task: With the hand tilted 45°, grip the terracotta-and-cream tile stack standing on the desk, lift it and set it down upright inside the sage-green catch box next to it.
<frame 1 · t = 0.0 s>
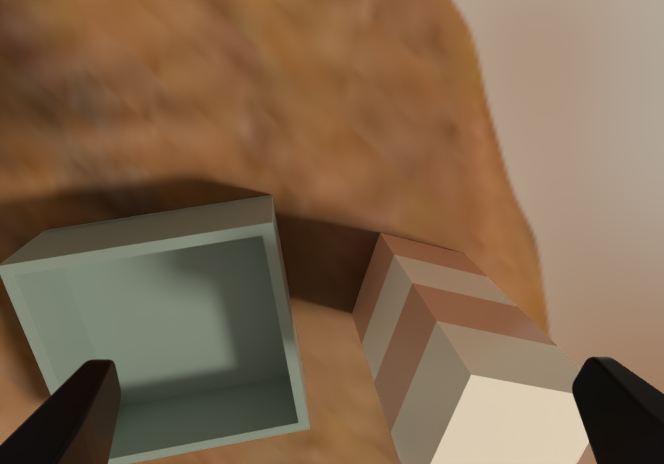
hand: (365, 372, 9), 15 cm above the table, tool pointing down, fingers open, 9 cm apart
catch box: (186, 309, 25), on the table
tile stack: (407, 283, 26), on the table
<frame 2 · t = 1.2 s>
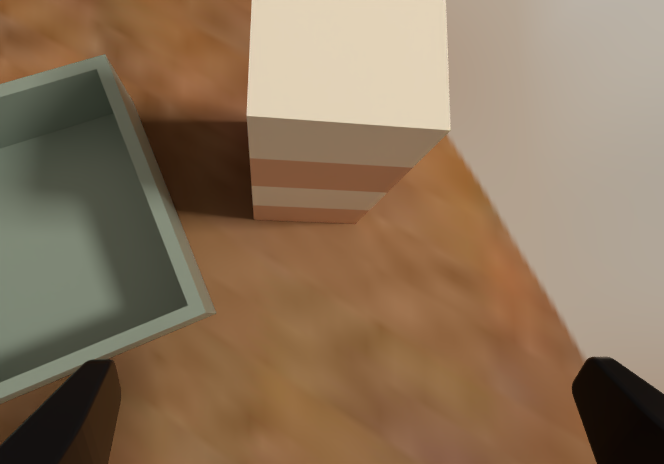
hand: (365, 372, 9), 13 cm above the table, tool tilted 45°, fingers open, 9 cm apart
catch box: (53, 248, 21), on the table
tile stack: (306, 172, 23), on the table
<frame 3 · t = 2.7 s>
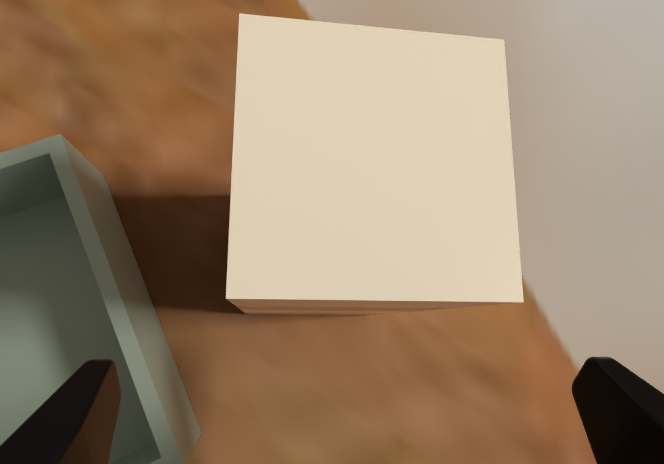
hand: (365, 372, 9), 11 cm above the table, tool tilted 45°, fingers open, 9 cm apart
catch box: (4, 358, 17), on the table
tile stack: (309, 254, 20), on the table
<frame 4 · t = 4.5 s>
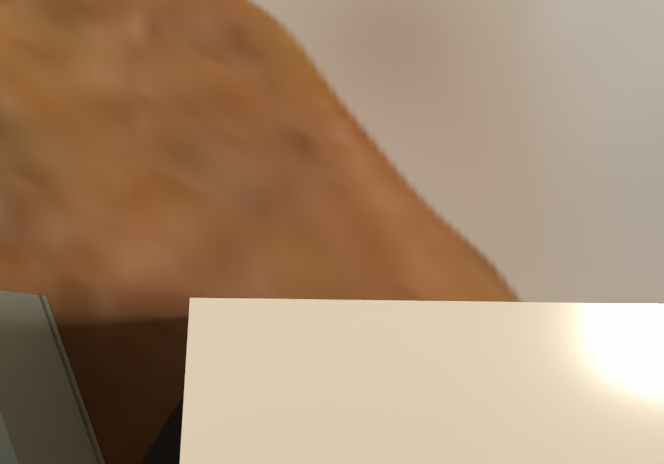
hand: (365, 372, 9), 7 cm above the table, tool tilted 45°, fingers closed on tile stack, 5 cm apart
tile stack: (320, 395, 15), on the table, touching gripper
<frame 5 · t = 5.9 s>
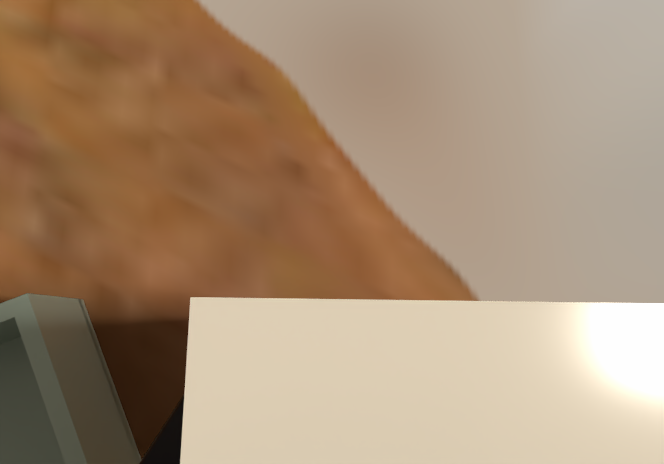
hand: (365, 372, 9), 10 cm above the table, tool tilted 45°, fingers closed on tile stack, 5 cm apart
tile stack: (320, 394, 15), point 3 cm above the table, touching gripper
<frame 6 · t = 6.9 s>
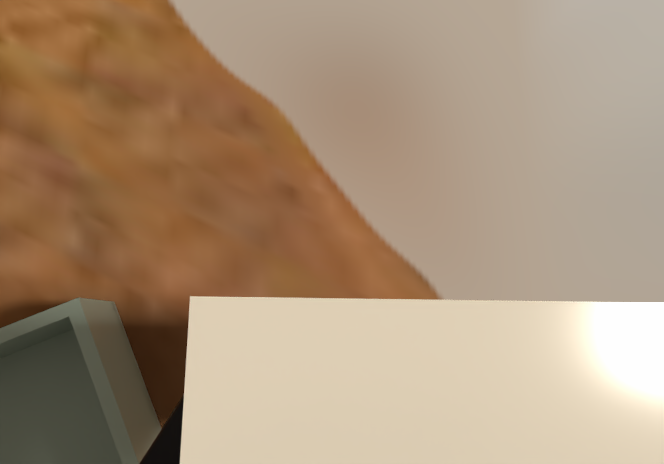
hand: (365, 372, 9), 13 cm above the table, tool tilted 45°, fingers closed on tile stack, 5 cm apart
tile stack: (320, 394, 15), point 7 cm above the table, touching gripper
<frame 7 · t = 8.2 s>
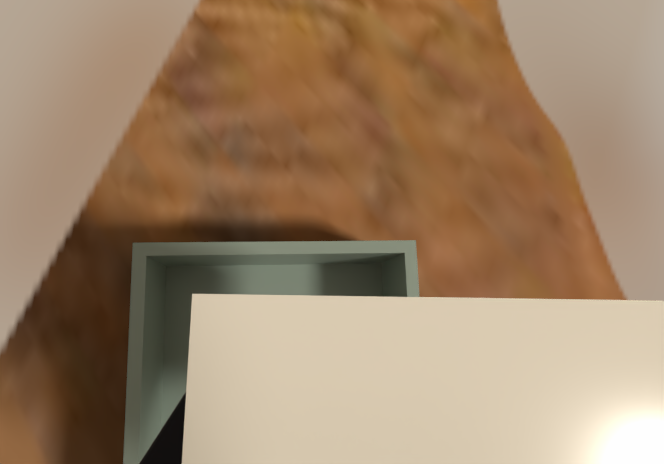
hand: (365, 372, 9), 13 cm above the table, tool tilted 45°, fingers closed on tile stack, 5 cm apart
catch box: (278, 374, 21), on the table
tile stack: (320, 394, 15), point 7 cm above the table, touching gripper
when the fingers open (9 cm above the table, at t = 10.0 s): tile stack drops 1 cm, resting on catch box.
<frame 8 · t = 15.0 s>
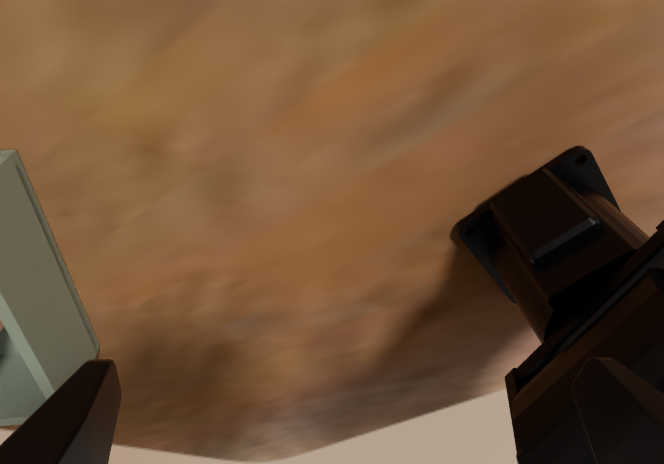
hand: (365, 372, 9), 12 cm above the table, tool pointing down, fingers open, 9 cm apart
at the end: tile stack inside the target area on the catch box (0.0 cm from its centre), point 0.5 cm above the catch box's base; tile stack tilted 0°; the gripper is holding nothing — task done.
